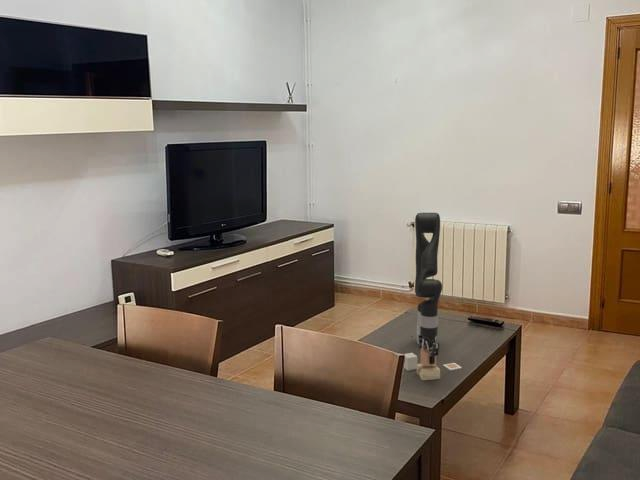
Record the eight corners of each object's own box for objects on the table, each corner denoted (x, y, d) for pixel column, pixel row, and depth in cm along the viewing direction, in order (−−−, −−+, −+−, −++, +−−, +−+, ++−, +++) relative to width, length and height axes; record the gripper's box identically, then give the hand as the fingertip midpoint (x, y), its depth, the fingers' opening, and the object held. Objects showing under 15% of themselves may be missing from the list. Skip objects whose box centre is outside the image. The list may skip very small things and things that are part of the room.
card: (443, 365, 284) (443, 364, 283) (454, 363, 286) (454, 362, 286) (450, 370, 278) (450, 369, 278) (461, 368, 280) (461, 366, 280)
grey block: (402, 366, 283) (402, 354, 282) (411, 365, 285) (412, 352, 284) (407, 370, 279) (407, 358, 278) (417, 368, 281) (417, 356, 279)
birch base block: (416, 373, 276) (416, 363, 275) (433, 371, 277) (434, 362, 277) (422, 380, 269) (422, 370, 268) (439, 379, 270) (440, 369, 269)
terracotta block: (420, 362, 273) (420, 349, 272) (430, 360, 275) (430, 347, 274) (426, 366, 269) (426, 353, 268) (436, 364, 270) (436, 351, 269)
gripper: (445, 328, 263) (444, 366, 266) (427, 318, 276) (427, 354, 280) (430, 330, 260) (429, 368, 264) (413, 320, 274) (412, 357, 277)
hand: (428, 361), depth 272 cm, fingers open, 5 cm apart
